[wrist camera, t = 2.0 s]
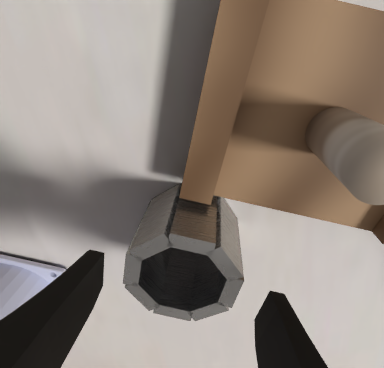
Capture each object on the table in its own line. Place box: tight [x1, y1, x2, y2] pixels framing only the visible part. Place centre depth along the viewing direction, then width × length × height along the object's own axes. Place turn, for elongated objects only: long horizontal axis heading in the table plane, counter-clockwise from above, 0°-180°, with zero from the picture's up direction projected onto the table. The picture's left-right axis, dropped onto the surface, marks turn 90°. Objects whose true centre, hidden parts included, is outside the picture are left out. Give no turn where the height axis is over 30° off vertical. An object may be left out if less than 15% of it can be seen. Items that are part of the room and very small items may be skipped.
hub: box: [123, 184, 244, 321], centre depth 14 cm, size 6×6×4 cm
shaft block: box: [179, 0, 384, 244], centre depth 10 cm, size 12×9×6 cm
